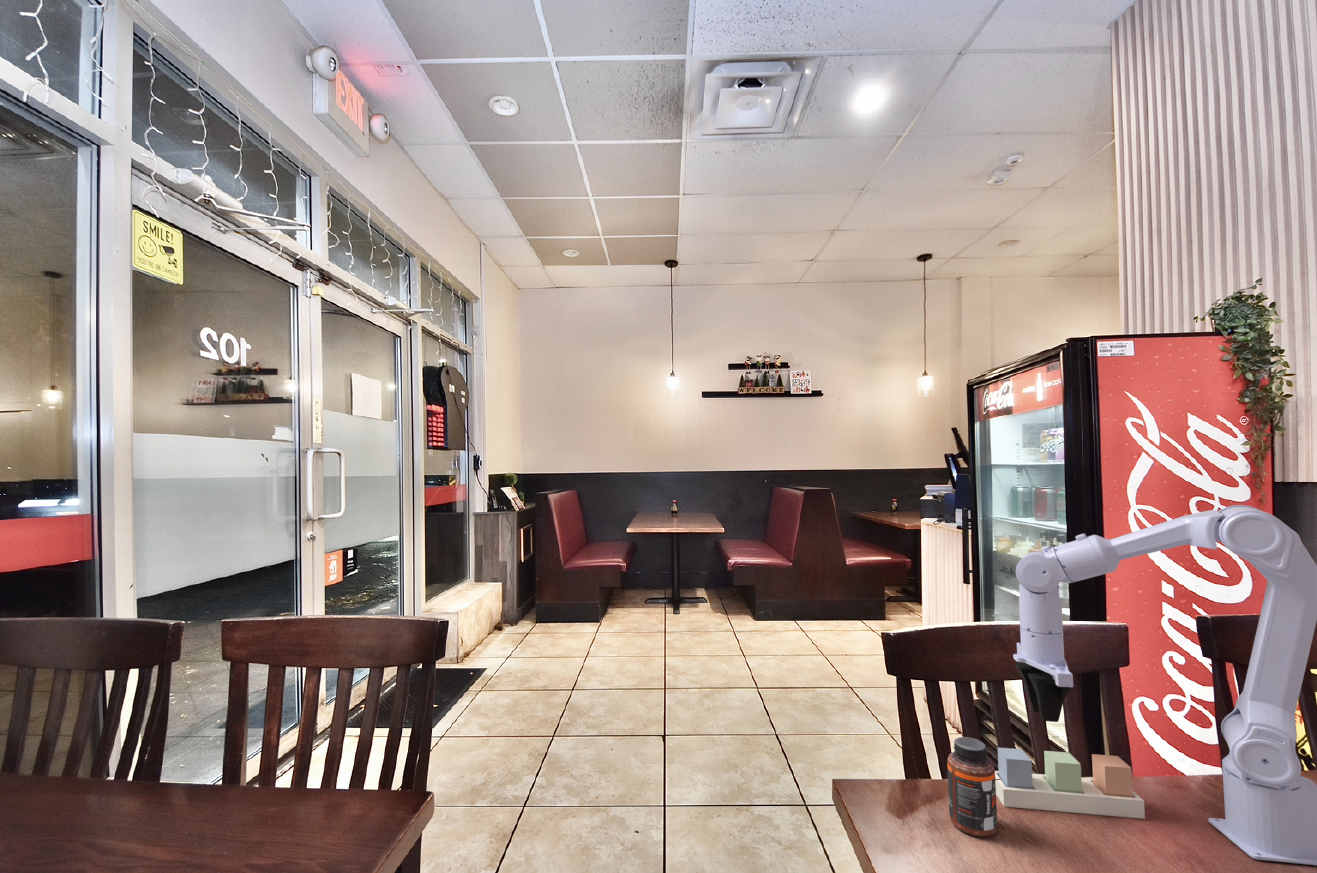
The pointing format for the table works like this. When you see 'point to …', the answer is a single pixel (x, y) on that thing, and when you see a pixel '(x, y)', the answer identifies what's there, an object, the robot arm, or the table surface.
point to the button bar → (1069, 799)
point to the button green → (1062, 772)
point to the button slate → (1015, 768)
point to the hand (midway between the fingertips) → (1045, 716)
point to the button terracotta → (1112, 775)
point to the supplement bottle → (972, 788)
